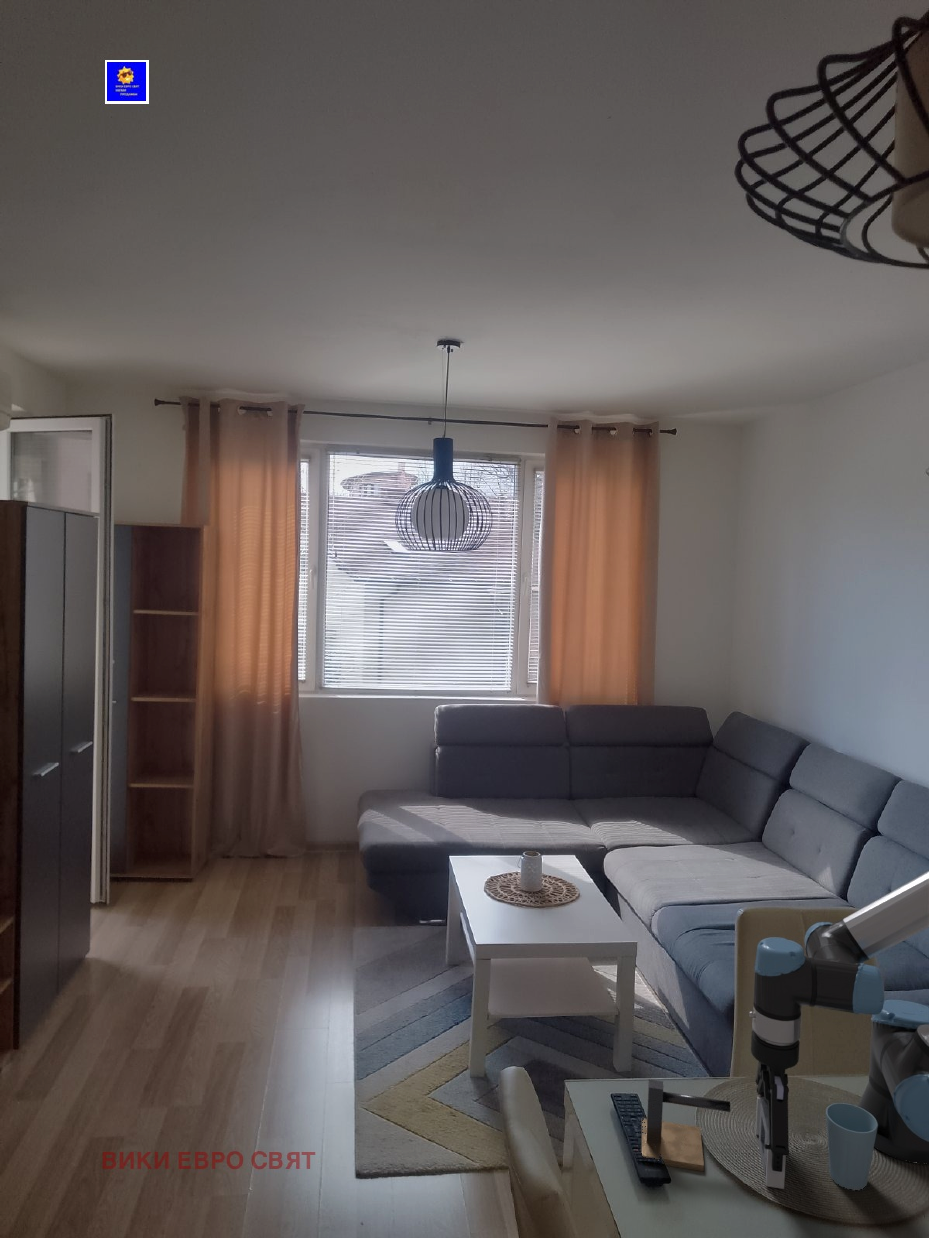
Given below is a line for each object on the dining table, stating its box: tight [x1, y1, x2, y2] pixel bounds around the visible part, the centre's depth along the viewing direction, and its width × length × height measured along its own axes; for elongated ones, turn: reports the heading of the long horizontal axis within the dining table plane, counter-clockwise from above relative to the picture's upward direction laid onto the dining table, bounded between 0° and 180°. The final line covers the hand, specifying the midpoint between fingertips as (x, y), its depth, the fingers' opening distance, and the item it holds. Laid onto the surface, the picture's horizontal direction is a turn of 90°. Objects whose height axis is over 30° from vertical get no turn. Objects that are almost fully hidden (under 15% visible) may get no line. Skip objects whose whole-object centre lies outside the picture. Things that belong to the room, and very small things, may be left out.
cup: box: [825, 1102, 878, 1191], centre depth 139 cm, size 8×8×10 cm
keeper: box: [641, 1079, 731, 1172], centre depth 145 cm, size 14×10×10 cm
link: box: [758, 1099, 769, 1177], centre depth 143 cm, size 2×8×8 cm, turn 168°
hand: (768, 1159), depth 143 cm, fingers open, 12 cm apart
